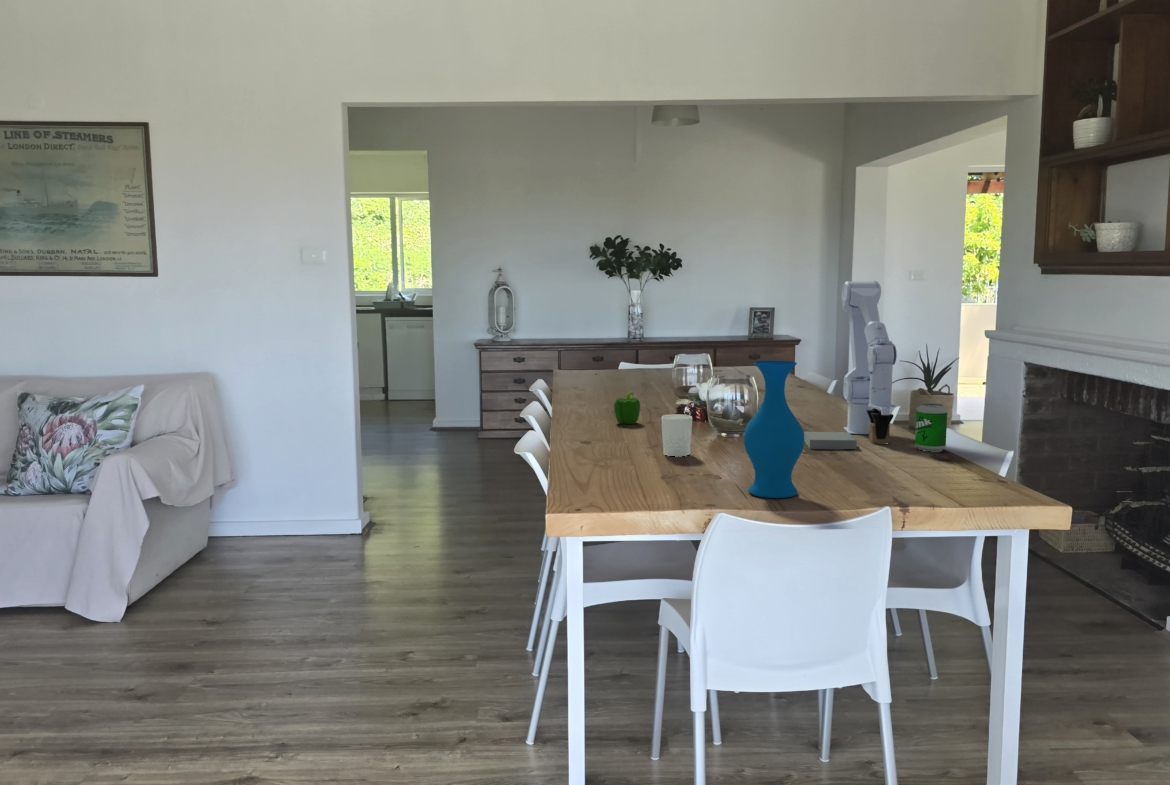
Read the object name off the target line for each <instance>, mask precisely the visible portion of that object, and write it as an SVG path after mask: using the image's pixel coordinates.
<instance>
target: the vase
mask: <svg viewBox="0 0 1170 785" xmlns="http://www.w3.org/2000/svg"><path fill="white" fill-rule="evenodd" d="M753 364H754V365H755V366H756V368H758V370H759V371H760V373H761V375H762V376H763V380H764V390H765V391H764V396H763V400H762V402H761V404H760V406H759V408H758V410H757V411H756V412H755V414H754V415H753V416H752V417H751V419H750V420H749V422H748V423H747V425H746V427H745V429H744V433H743V445H744V449H745V452H746V455H747V456H748V458H749V460H750V462H751V464H752V467H753V470H754V479H753V482H752V484H750V487H749V488H748V493H749V494H750V495H752V496H755V497H759V498H764V499H765V498H767V499H786V498H792V497H795V496H796V495H797V494H798V489H797V488H796V486H795V485H794V484H793V481H792V480H793V479H792V474H793V470H794V467H795V465H796V463H797V461H798V460H799V458H800V457H801V455H802V453H803V450H804V446H805V438H804V432H805V431H804V430H803V427H802V426H801V423H800V422H799V420H798V419H797V417H796V416H795V415H794V413H793V412H792V411H791V409H790V406H789V404H788V402H787V399H786V391H785V389H786V388H785V386H786V380H787V377H788V376H789V374H790V373H791V371H792V370H793V369H794V367H795V366H796V365H797V364H798V363H797V361H796V362H795V361H789V360H760V361H754V362H753Z"/></svg>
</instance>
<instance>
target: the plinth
mask: <svg viewBox="0 0 1170 785" xmlns="http://www.w3.org/2000/svg"><path fill="white" fill-rule="evenodd" d="M803 432H804V438H805V441H804V443H805V442H806V443H805V444H806V446H807V445H808V446H807V447H808V449H809V450H844V449H856V450H857V442H858V441H857V439H856V438H855V437H854V436H853V434H850V433H849V432H847V431H845V432H843V431H838V432H837V431H803Z"/></svg>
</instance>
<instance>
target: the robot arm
mask: <svg viewBox="0 0 1170 785" xmlns="http://www.w3.org/2000/svg"><path fill="white" fill-rule="evenodd" d="M881 288H882V286H881V284H880V282H879V281H878V280H874V281H870V280H869V281H849V280H847V281H845V282H844V284H843V285H842V288H841V302H842V304H841V305H842V310H843V312H845V313H847V315H848V321H849V322H848V323H849V332H850V333H849V334H850V346H851V359H852V361H851V362H852V363H851V364H852V369H851V370H850V371H848V372H847V373H846V374H845V375H844V377H843V386H842V394H843V398H844V399H845V401H847V402H848V407H847V426H843V430H844V431H845V432H849V433H850V434H851V435H869V423H874V424H875V431H876V437H877V439H885V438H886V434H887V430H888V427H889V426H890V423H891V422H892V420H893V418H894V414H892V413H890V412H891V411H890V410H891V408H896V406H897V405H896V404H895V403H892V395H893V394H892V390H893V370H894V369H893V366H894V365H895V364H896V361H897V358H898V357H897V356H898V353H897V348H896V347H897V346H896V345H895V344H894V343H893V341H892V340H890V338H889V334H888V332H887V327H886V325H885V323H883V322H882V321H880V314H879V308H878V304H879V302H880V299H881V295H882V289H881Z"/></svg>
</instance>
